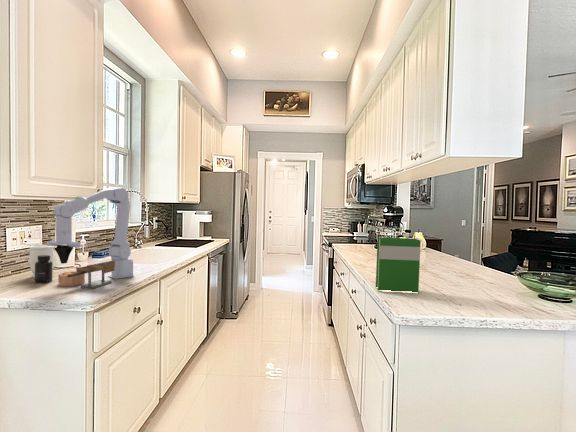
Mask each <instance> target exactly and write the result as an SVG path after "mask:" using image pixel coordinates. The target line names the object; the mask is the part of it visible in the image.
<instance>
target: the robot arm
mask: <svg viewBox="0 0 576 432" xmlns="http://www.w3.org/2000/svg"><path fill="white" fill-rule="evenodd" d="M104 199H106V200H108V201H109V202H111V203H113V204H114V205H115V206H116V207H117V212H116V222H115V233H114V239H113V240H112V241H111V242H110V247H109V248H108V255H109V256H110V259H111V261H115V267H114V271H112V272H110V273H111V274H108V275H107V276H108V277H109V278H112V279H115V280H116V279H122V278H123V279H124V278H130V277H134V276H135V275H134V261H133V259H132V257H130V256H131V254H132V253H131V252H132V251H131V247H130V246H131V244H130V242H129V241H128V233H129V232H128V230H129V221H130V211H131V201H130V198H129V192H128V191H127V190H126V188H123V187H107V188H103V189H100V190H99V191H97V192H95V193H92V194H90V195H88V196H86V197H84V196H79V195H77V196H75V197H74V199H72V200H71V199H70V200H66V201H65V202H64V203H59V204H57V205H56V206H55V207H54V209H53V210H52V212H53V213H52V214H53V215H54V216H55V240H50V241H49V240H48V241H47V245H48V246H55V247H54V252H56V254H57V255H58V257H59V258H58V259H59V261H60V264H62V265H63V264H67V263H68V260H69V257H70V255H71V253H72V251H73V249H74V248H81V242H79V241H72V240H73V239H72V237H73V236H72V235H73V234H72V231H73V229H72V228H73V227H72V226H73V225H72V224H73V223H72V219H73V218H72V217H73V216H74V215H75V214H77V213H79V212H82V211H85V210H86V209H88V207H89V205H91V204H93V203H96V202H99V201H101V200H104Z"/></svg>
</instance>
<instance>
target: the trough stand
mask: <svg viewBox="0 0 576 432" xmlns="http://www.w3.org/2000/svg"><path fill="white" fill-rule="evenodd" d="M87 280H88V281H87V282H88V283H86V284H85V283H84V284H80V289H89V290H90V289H91V290H93V289H94V290H95V289H97V288H100V287H102V286H106V285H108V284H112V280H109V279H105V273H104V271H103V270H101V279H98V280H95V281H92V272H91V270H88V273H87Z"/></svg>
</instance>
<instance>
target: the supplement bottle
mask: <svg viewBox="0 0 576 432" xmlns="http://www.w3.org/2000/svg"><path fill="white" fill-rule="evenodd" d="M37 260H38V261H37V262H36V263H35V278H34V277H33V278H34V283H36V284H46V283H51V282H53V274H54V273H53V272H54V270H53V269H54V267H53V263H52V262H51V261H50V255H39V256H38V259H37Z"/></svg>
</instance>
